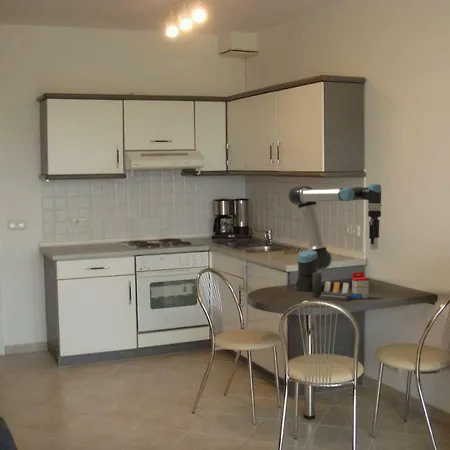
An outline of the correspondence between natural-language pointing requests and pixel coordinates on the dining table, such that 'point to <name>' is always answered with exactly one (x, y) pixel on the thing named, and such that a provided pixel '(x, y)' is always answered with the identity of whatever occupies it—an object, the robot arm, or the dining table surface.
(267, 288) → the dining table surface
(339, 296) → the panel
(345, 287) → the paddle right
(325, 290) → the paddle left
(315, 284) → the post
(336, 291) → the block
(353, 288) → the ink box
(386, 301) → the dining table surface
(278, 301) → the dining table surface
